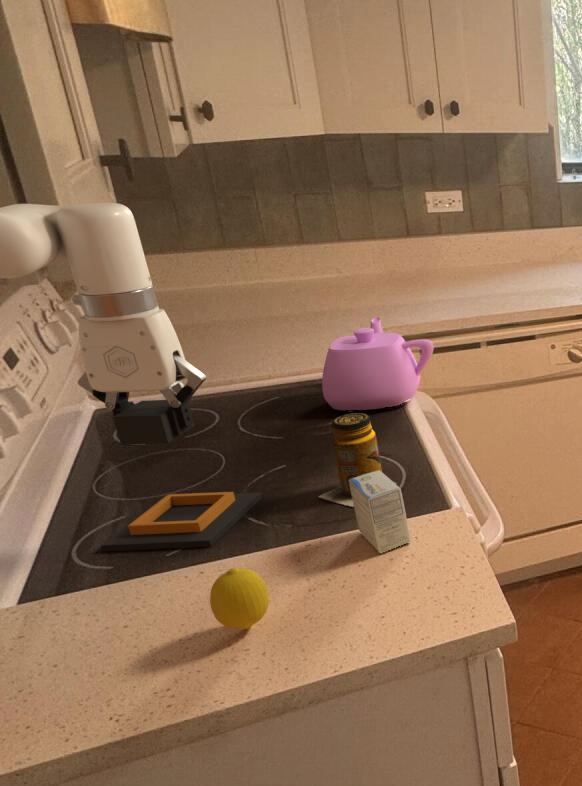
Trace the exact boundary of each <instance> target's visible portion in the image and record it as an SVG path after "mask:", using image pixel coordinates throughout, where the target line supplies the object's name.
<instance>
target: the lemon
mask: <svg viewBox="0 0 582 786" xmlns="http://www.w3.org/2000/svg"><path fill="white" fill-rule="evenodd" d="M209 603H210V604H209V605H210V609H211V612H212V614H213V616H214V618H215V619H216V621H217V622H218V623H219V624H221V625H222V626H224V627H226V628H228V629H232V630H241V629H242V630H249V629H251V628H252V626H253V625H255V624H257V623H258V622H260V620H262V619H263V617H264V616H265V614H266V613H267V611H268V608H269V605H270V594H269V590H268V587H267V584H266V583H265V581H264V579H263V578H262V576H261V575H260V574H258V573H257V572H256V571H254V570H252V569H249V568H245V567H243V568H242V567H239V568H237V567H236V568H235V567H232V568H231V567H230V568H229V569H228V570H227V571H225V572H223V573H221V574H220V575H219V576H218V577H217V578H216V579H215V581H214V583H213V584H212V586H211V589H210V595H209Z"/></svg>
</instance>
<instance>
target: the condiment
mask: <svg viewBox="0 0 582 786" xmlns="http://www.w3.org/2000/svg"><path fill="white" fill-rule="evenodd" d="M331 427H332V434H333V436H332V440H331V441H332V442H331V443H332V448H333V452H334V458H335V462H336V466H337V473H338V477H339V482H340V485H339V486H337V487H335V488H333V489H331V490H329V491H328V492H325V493H322V494H321V495H319V496H317V497H318V498H321V499H323V500H326V501H329V502H331V503H336V504H338V505H339V504H340V505H344V506H348V507H352V508H354V504H353V500H352V495H351V491H350V485H349V480H350V479H352V478H355V477H358V476H361V475H364V474H367V473H371V472H375V471H381V472H382V473H383V468H382V463H381V458H380V451H379V447H378V446H379V445H378V439H377V435H376V434H377V433H376V432H375V430H373V426H372V424H371V417H370V416H369V415H368V414H366V413H362V412H353V413H347V414H343V415H340V416H337V417H336V418H334V419H333V420H332V424H331ZM393 482H394V483H395V484H396V485H397V482H395V481H393Z"/></svg>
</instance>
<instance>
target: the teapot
mask: <svg viewBox="0 0 582 786" xmlns="http://www.w3.org/2000/svg"><path fill="white" fill-rule="evenodd" d="M382 329H383V328H382V321H381V318H380V317H378V316H376V317H373V318H372V319H371V321H370V327H361V328H357V329H354V331H353V332H352V333H353V334H351V335H343V336H340V337H338V338H336V339H335V340H334V341H333V342H332V343H331V344H330V346H329V347H328V350H327V352H326V353H327V354H326V357H325V360H324V365H323V370H322V376H321V377H322V379H321V386H322V387H321V388H322V395H323V398H324V400H325V401H326V403H327V404H328V405H329V406H330V407H331V408H332V409H333V410H336V411H346V410H358V411H368V410H378V409H386V408H385V407H392V406H397V405H399V406H401V405H403V404H402V403H403V402H404V401H406V400H408V399H410V398H412V397H413V396H414V397H415V396H416V393H417V391H418V388H419V386H420V383H421V382H420V381H421V373H422V371H424V369H425V368H426V366H427V365H428V363H429V362H430V360H431V358H432V357H433V353H434V347H435V346H434V343H433V341H431V340H429V339H426V338H424V339H423V338H422V339H421V338H420V339H414V340H409V341H406V340H405V339H404V338H403V337H402V335H401V334H400V333H397V332H383V330H382ZM411 348H419V349H420V351H421V354H420V358H419V361H418V363H417V360H416V357H415V356H414V354H413V351H412V350H411ZM414 397H413V398H414ZM413 398H412V399H413ZM400 404H401V405H400ZM397 407H398V406H397Z"/></svg>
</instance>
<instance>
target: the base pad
mask: <svg viewBox="0 0 582 786" xmlns="http://www.w3.org/2000/svg"><path fill="white" fill-rule="evenodd" d="M261 499H262V494H261V492H240V493H237V492H236V493H234V491H219V492H217V491H216V492H195V493H193V492H191V493H172V494H170V493H169V494H167V495H165V496H162V497H161V498H160V499H158V500H157V501H156V502H155V503H153V504H152V505H151V506H149V507H148V508H147V509H146V510H144V511H143V512H141V513H140V514H139V515H137V516H136V517H135V518H134V519H132V520H131V521H130V522H129V523H127V524H126V525H125V526H123V527H122V528H121V529H120V530H118V531H117V532H116V533H114V534H113V535H112V536H111V537H109V538H108V539H107V540H105V541H104V542H103V543H101V544H100V549H101V551H102V552H123V551H125V552H127V551H144V550H145V551H146V550H147V551H148V550H166V549H169V550H170V549H189V548H211V547H213V546H214V545H215V543H217V542H218V541H219V540H220V539H221V538H222V536H224V535H225V534H226V533H227V532H228V531H229V530H230V529H231V528H232V527H233V526H234V525H235V524H236V523H238V522H239V520H241V519H242V518H243V517H244V516H245V515H246V514H247V513H248V512H249V511H250V510H251V509H252V508H253V507H255V505H256V504H257V503H258V502H259V501H261Z"/></svg>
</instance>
